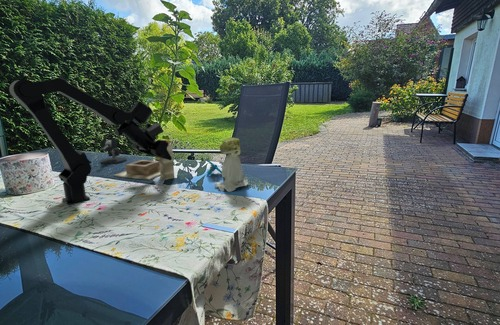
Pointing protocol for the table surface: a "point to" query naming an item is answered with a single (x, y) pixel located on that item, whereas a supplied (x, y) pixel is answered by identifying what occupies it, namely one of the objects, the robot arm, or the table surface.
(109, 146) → the gun turret
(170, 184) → the table surface
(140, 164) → the socket
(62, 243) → the table surface
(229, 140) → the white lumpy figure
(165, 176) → the peg
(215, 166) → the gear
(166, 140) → the supplement box
